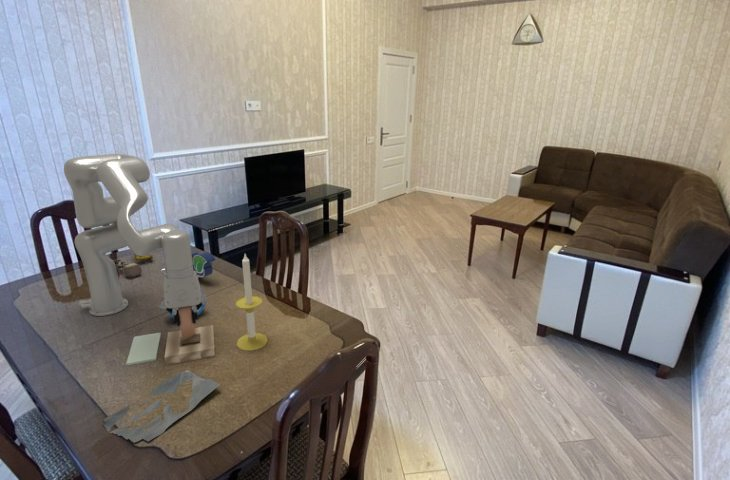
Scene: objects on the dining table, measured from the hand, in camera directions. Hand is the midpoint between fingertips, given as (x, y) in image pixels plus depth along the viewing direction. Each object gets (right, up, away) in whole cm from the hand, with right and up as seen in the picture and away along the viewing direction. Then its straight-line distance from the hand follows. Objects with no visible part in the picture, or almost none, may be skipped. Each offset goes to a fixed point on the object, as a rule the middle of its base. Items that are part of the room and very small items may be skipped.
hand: (186, 322), depth 124 cm
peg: (0, -4, +2) cm, 4 cm away
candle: (+19, -8, +7) cm, 22 cm away
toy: (-51, +11, +54) cm, 75 cm away
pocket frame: (0, -9, +3) cm, 10 cm away
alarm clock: (-9, -3, +21) cm, 23 cm away
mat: (-14, -9, +2) cm, 17 cm away
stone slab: (+4, -18, -21) cm, 28 cm away
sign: (-22, +9, +52) cm, 57 cm away
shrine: (-52, +16, +67) cm, 86 cm away
